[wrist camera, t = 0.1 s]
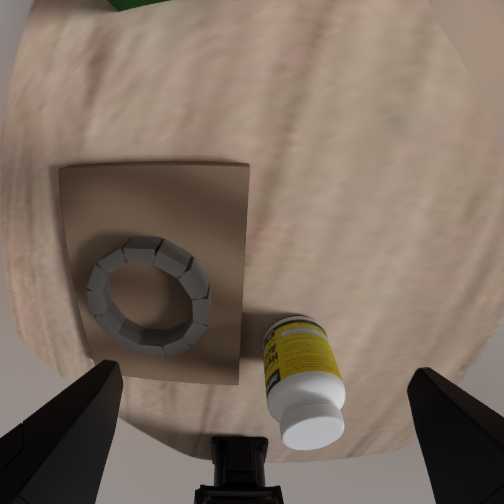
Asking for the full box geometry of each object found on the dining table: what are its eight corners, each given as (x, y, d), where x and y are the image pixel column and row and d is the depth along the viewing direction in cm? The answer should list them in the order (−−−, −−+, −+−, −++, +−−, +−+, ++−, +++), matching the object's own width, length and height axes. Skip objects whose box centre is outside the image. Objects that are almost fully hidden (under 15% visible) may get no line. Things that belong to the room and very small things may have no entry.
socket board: (238, 373, 27) (238, 402, 24) (102, 361, 26) (90, 386, 23) (249, 164, 20) (250, 172, 17) (68, 165, 19) (43, 174, 16)
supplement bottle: (261, 315, 25) (271, 413, 16) (328, 311, 25) (365, 403, 16) (261, 365, 27) (269, 458, 18) (321, 360, 27) (347, 449, 18)
